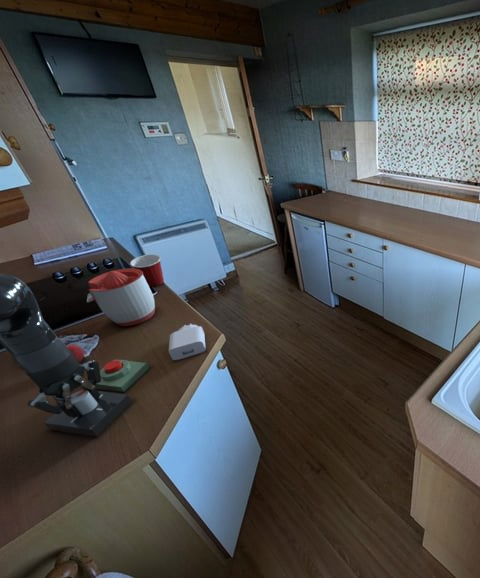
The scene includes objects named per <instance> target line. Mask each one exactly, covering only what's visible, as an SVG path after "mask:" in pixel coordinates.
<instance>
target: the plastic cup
mask: <svg viewBox="0 0 480 578" xmlns="http://www.w3.org/2000/svg"><path fill="white" fill-rule="evenodd" d="M161 258H162V257H161V255H159V254H151V253H149V254H144V255H140V256H137V257H135V258H133V259H132V260H131V261H130V262H129V265H130V266H131V267H132V268H135V269H140V270H141V271H142V272H143V276H144V278H145V280H146V282H147V284H148V286H149V287H158V286H161V285H162V284H164V282H165V281H164V274H163V270H162V265H161V264H162V263H161Z"/></svg>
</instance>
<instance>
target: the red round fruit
mask: <svg viewBox="0 0 480 578" xmlns="http://www.w3.org/2000/svg"><path fill="white" fill-rule="evenodd" d="M65 345H66V346H67V348H68V349H69V350H70V351H71V353H72V354H73V355H74V357H75V358H76V359H77V361H78V362H79V363H80V362H81V361H83V359H84V357H85V352H84V351H85V350H84V349H83V348H82V347H80V346H78V345H76V344H65Z"/></svg>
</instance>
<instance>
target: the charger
mask: <svg viewBox="0 0 480 578" xmlns="http://www.w3.org/2000/svg"><path fill="white" fill-rule="evenodd" d="M205 335H206V334H205V332H204V329H203V327H202V326H200V325H197V324H192V323H189V324H188V325H186V324H184V325H183V326H181V327H180V328H179V329H178V330H176V331H174V332H171V333H170V335H169V343H168V354H169V356H170V358H171V360H172V361H179V360H182V359H186V358H189V357H192V356H195V355H198V354H202V353H204V352H205V351H206V336H205Z"/></svg>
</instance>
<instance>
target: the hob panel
mask: <svg viewBox="0 0 480 578" xmlns="http://www.w3.org/2000/svg"><path fill="white" fill-rule="evenodd" d="M97 391H98V392H99V393H100V397H99V398H100V400H98V401H97V403H98V404H97V406H96V408H95V409H94V410H92V411H91V412H89V413H87V414H84V415H81V416H79V417H75V418H74V417H69V416H67V415H66V414H65V413H64V412H63V411H62V413H60V414H54V413H53V414H52V415H51V416H50V417H49V418H47V419H46V420H45V421H44V422H43V424H44V425H45V426H46V427H47V428H48V429H49V430H50V431H56V432H63V433H68V434H69V433H70V434H76V435H82V436H83V435H84V436H90V437H95V438H98V437H99V436H100V435H102V433H103V432H104V431H105V430H107V428H108V427H109V426H110V425H111V424H112V423H113V422H114V421H115V420H117V418H118V417H119V416H120V415H121V414H122V413H123V412H124V411H125V410H126V409H127V408H128V407H129V406H130V405H131V404H132V403H133V400H132V398H130V396H129V395H128V394H126V393H118V392H117V393H116V392H111V391H110V392H109V391H102V390H101V391H100V390H97Z"/></svg>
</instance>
